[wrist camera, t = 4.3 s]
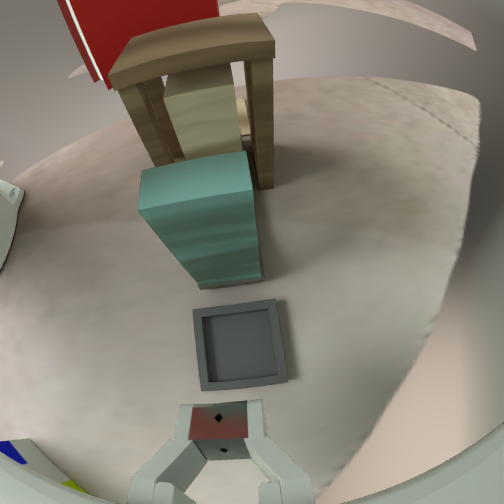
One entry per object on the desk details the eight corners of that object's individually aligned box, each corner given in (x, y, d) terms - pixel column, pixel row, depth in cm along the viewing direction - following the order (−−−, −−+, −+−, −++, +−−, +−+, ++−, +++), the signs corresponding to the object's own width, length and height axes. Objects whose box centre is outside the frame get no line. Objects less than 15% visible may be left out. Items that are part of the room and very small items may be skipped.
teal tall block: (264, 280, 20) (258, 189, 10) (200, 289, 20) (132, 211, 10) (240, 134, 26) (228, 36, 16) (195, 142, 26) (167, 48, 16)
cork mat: (251, 134, 27) (251, 133, 27) (186, 145, 27) (186, 144, 27) (244, 99, 30) (244, 98, 29) (188, 108, 30) (187, 107, 29)
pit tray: (287, 380, 18) (287, 381, 17) (204, 389, 18) (201, 391, 17) (275, 301, 20) (275, 298, 19) (196, 312, 20) (192, 309, 19)
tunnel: (274, 189, 24) (274, 40, 11) (174, 205, 24) (107, 75, 11) (263, 141, 26) (256, 12, 13) (175, 155, 26) (131, 38, 13)
